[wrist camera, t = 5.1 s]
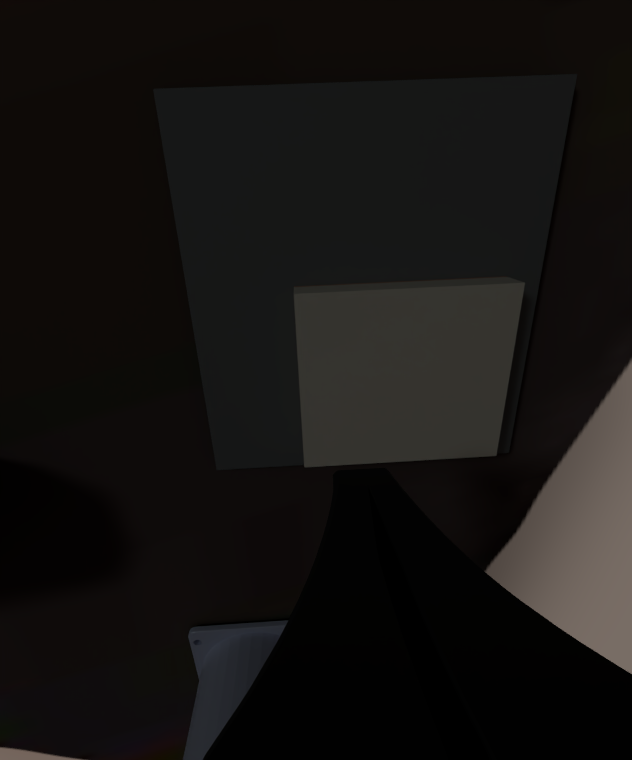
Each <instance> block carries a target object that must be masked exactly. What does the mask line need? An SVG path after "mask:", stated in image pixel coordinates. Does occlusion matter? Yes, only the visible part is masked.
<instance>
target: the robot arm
mask: <svg viewBox="0 0 632 760" xmlns="http://www.w3.org/2000/svg"><path fill="white" fill-rule="evenodd" d="M189 641H190V645H191V649H192V653H193V657H194V661H195V665H196V669H197V673H198V677H199V685H198V690H197V695H196V700H195V705H194V709H193V714H192V719H191V724H190V729H189V734H188V739H187V743H186V748H185V753H184V758H183V760H632V674H630V673H629V672H627V671H625V670H624V669H622V668H621V667H619V666H617V665H616V664H614V663H613V662H611V661H609V660H608V659H606V658H605V657H603V656H601V655H600V654H598V653H597V652H595V651H593V650H592V649H590V648H589V647H587V646H586V645H584V644H582V643H581V642H579V641H578V640H576V639H575V638H573V637H572V636H570V635H569V634H567V633H566V632H564V631H563V630H561V629H560V628H558V627H557V626H556V625H554V624H552V623H551V622H550V621H549V620H547V619H546V618H544V617H543V616H541V615H540V614H539V613H537V612H536V611H534V610H533V609H532V608H530V607H529V606H527V605H526V604H525V603H523V602H522V601H520V600H519V599H518V598H516V597H515V596H514V595H512V594H511V593H510V592H509V591H507V590H506V589H505V588H503V587H502V586H501V585H500V584H499V583H497V582H496V581H495V580H494V579H493V578H491V577H490V576H489V575H487V573H485V572H484V571H483V570H482V569H481V568H480V567H478V566H477V565H476V564H475V563H474V562H473V561H472V560H471V559H469V558H468V557H467V556H466V555H465V554H464V553H463V552H462V551H461V550H460V549H459V548H458V547H457V546H456V545H454V544H453V543H452V542H451V541H450V540H449V539H448V538H447V537H446V536H445V535H444V534H443V533H442V532H441V531H440V530H439V529H438V528H437V527H436V526H435V524H434V523H433V522H432V521H431V520H430V519H429V518H428V517H427V516H426V515H425V514H424V513H423V512H422V511H421V510H420V508H419V507H418V506H417V505H416V504H415V503H414V502H413V500H412V499H411V498H410V497H409V496H408V495H407V493H406V492H405V491H404V490H403V489H402V487H401V486H400V485H399V484H398V483H397V481H396V480H395V479H394V478H393V476H392V475H391V474H390V472H389V471H388V470H387V469H385V468H374V469H357V470H341V471H337V472H335V473H334V474H333V497H332V503H331V508H330V512H329V516H328V520H327V524H326V528H325V532H324V535H323V538H322V541H321V544H320V547H319V550H318V553H317V556H316V559H315V562H314V564H313V567H312V569H311V572H310V574H309V577H308V579H307V582H306V584H305V586H304V588H303V591H302V593H301V595H300V597H299V600H298V602H297V604H296V606H295V608H294V610H293V612H292V614H291V616H290V618H289V620H283V621H269V622H254V623H240V624H225V625H211V626H197V627H193V628H191V629H190V632H189Z"/></svg>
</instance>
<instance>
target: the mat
mask: <svg viewBox="0 0 632 760" xmlns="http://www.w3.org/2000/svg"><path fill="white" fill-rule="evenodd" d="M576 78H577V74H566V75H537V76H509V77H480V78H452V79H423V80H395V81H366V82H338V83H309V84H281V85H252V86H224V87H195V88H167V89H153V90H154V96H155V102H156V108H157V114H158V120H159V126H160V132H161V138H162V144H163V150H164V156H165V162H166V168H167V174H168V180H169V186H170V192H171V198H172V204H173V210H174V216H175V222H176V228H177V234H178V240H179V246H180V252H181V258H182V264H183V270H184V276H185V282H186V288H187V294H188V300H189V306H190V312H191V318H192V324H193V330H194V336H195V342H196V348H197V354H198V360H199V366H200V372H201V378H202V384H203V390H204V396H205V402H206V408H207V414H208V420H209V426H210V432H211V438H212V444H213V450H214V456H215V462H216V468H217V470H227V469H244V468H260V467H277V466H294V465H304V454H303V437H302V421H301V405H300V389H299V372H298V356H297V340H296V323H295V307H294V286H312V285H333V284H354V283H375V282H396V281H416V280H437V279H458V278H479V277H500V276H506V277H509V278H512V279H515V280H518V281H521V282H525V286H524V292H523V298H522V304H521V310H520V316H519V322H518V329H517V335H516V341H515V347H514V353H513V359H512V365H511V371H510V377H509V383H508V389H507V395H506V401H505V407H504V413H503V419H502V425H501V431H500V437H499V443H498V449H497V453H509V449H510V444H511V438H512V432H513V427H514V421H515V416H516V410H517V405H518V399H519V394H520V388H521V383H522V377H523V371H524V366H525V360H526V355H527V349H528V344H529V338H530V333H531V327H532V322H533V316H534V310H535V305H536V299H537V294H538V288H539V283H540V277H541V272H542V266H543V261H544V255H545V249H546V244H547V238H548V233H549V227H550V222H551V216H552V211H553V205H554V200H555V194H556V188H557V183H558V177H559V172H560V166H561V161H562V155H563V150H564V144H565V139H566V133H567V128H568V122H569V116H570V111H571V105H572V100H573V94H574V89H575V83H576Z"/></svg>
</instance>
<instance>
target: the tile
mask: <svg viewBox="0 0 632 760" xmlns="http://www.w3.org/2000/svg"><path fill="white" fill-rule="evenodd" d="M524 286H525V282H521V281H518V280H515V279H512V278H509V277H506V276H500V277H479V278H458V279H437V280H416V281H396V282H375V283H354V284H333V285H312V286H294V307H295V323H296V340H297V356H298V372H299V389H300V405H301V421H302V437H303V454H304V467H318V466H334V465H351V464H368V463H385V462H402V461H419V460H435V459H452V458H469V457H486V456H496V455H497V449H498V443H499V437H500V431H501V425H502V419H503V413H504V407H505V401H506V395H507V389H508V383H509V377H510V371H511V365H512V359H513V353H514V347H515V341H516V335H517V329H518V322H519V316H520V310H521V304H522V298H523V292H524Z"/></svg>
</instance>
